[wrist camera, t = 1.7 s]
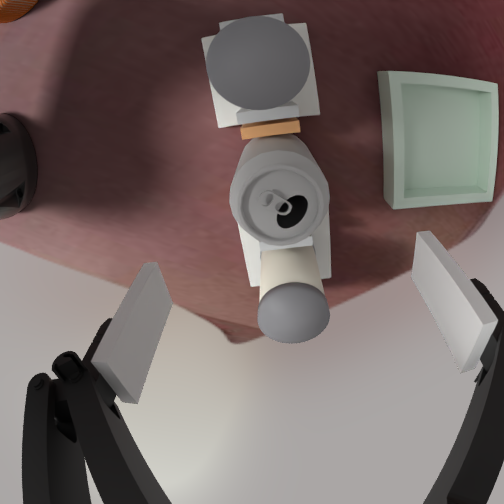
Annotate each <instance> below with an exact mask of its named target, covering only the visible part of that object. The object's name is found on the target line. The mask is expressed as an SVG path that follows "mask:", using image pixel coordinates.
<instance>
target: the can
mask: <svg viewBox="0 0 504 504" xmlns="http://www.w3.org/2000/svg"><path fill="white" fill-rule="evenodd" d="M329 201H330V194H329V187H328V182H327V180H326V179H325V177H324V175H323V173H322V171H321V169H320V168H319V166H318V164H317V163H316V161H315V159H314V158H313V156H312V154H311V153H310V151H309V149H308V148H307V146H306V145H305V144H304V143H303V142H302V141H301V140H300V139H299V138H298V137H297V136H294V135H292V134H290V133H288V134H279V135H271V136H264V137H257V138H253V139H252V140H251V141H250V142H249V143H248V144H247V145H246V146H245V148H244V150H243V153H242V155H241V157H240V160H239V163H238V166H237V169H236V172H235V175H234V178H233V181H232V184H231V187H230V202H229V203H230V206H231V209H232V213H233V216H234V218H235V219H236V221H237V222H238V223H239V225H240V226H241V228H242V229H243V230H245V231H246V232H247V233H248V234H250V235H251V236H252V237H254V238H255V239H256V240H258V241H260V242H263V243H266V244H268V245H276V246H285V245H291V244H296V243H298V242H300V241H302V240H304V239H306V238H307V237H308V236H310V235H311V234H312V233H313V232H314V231H315V230H316V229H317V227H318V226H319V225H320V224H321V222H322V221H323V219H324V217H325V215H326V214H327V211H328V206H329Z"/></svg>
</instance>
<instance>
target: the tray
mask: <svg viewBox="0 0 504 504" xmlns="http://www.w3.org/2000/svg"><path fill="white" fill-rule="evenodd" d="M377 76H378V85H379V95H380V107H381V120H382V137H383V170H384V199H385V201H386V202H387V203H388V204H389V205H390V206H391V207H392V209H393V210H394V209H404V208H415V207H426V206H438V205H450V204H463V203H476V202H490V201H492V199H493V192H494V184H495V175H496V164H497V151H498V125H499V109H498V84H496V83H492V82H487V81H481V80H475V79H469V78H463V77H456V76H448V75H440V74H430V73H419V72H404V71H377Z"/></svg>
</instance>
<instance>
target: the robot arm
mask: <svg viewBox="0 0 504 504" xmlns="http://www.w3.org/2000/svg"><path fill="white" fill-rule="evenodd" d="M36 183H37V160H36V155H35V150H34V147H33V144H32V141H31V139H30V136H29V134H28V133H27V131H26V129H25V128H24V126H23V125H22V124H21V123H20V122H19V121H18V120H17V119H16V118H14V117H13V116H11V115H8V114H0V220H1V219H5V218H9V217H11V216H14V215H15V214H17V213H18V212H19V211H21V210H22V209H23V208H25V207H26V206H27V205H28V204H29V202H30V201H31V199H32V197H33V195H34V192H35V188H36ZM411 278H412V280H413V282H414V283H415V285H416V287H417V289H418V290H419V292H420V294H421V296H422V297H423V299H424V301H425V303H426V304H427V307H428V308H429V310H430V312H431V314H432V316H433V318H434V319H435V321H436V323H437V325H438V327H439V329H440V331H441V333H442V335H443V337H444V339H445V341H446V343H447V346H448V348H449V349H450V352H451V354H452V356H453V358H454V360H455V363H456V365H457V367H458V369H459V371H460V373H463V372H466V371H469V370H472V369H475V367H476V365H477V364H478V361H479V360H481V362H482V364H483V367H482V369H481V371H480V373H479V374H478V376H477V378H476V379H475V381H474V382H477V384H476V387H475V391H474V394H473V397H472V400H471V403H470V405H469V408H468V411H467V414H466V416H465V419H464V422H463V424H462V427H461V429H460V432H459V434H458V436H457V439H456V441H455V443H454V445H453V448H452V450H451V452H450V454H449V456H448V458H447V460H446V463H445V465H444V467H443V469H442V470H441V472H440V474H439V476H438V478H437V480H436V482H435V484H434V485H433V487H432V489H431V491H430V493H429V494H428V496H427V498H426V499H425V501H424V503H423V504H486V503H487V501H488V499H489V496H490V494H491V492H492V490H493V487H494V485H495V482H496V480H497V477H498V475H499V472H500V469H501V467H502V464H503V461H504V311H503V310H502V308H501V307H500V306H499V304H498V303H497V301H496V300H494V297H493V296H492V294H490V292H489V290H488V289H487V288H486V286H485V285H484V284H483V283H481V282H480V281H478V280H477V279H476V278H474V279H469V278H468V277H467V275H466V274H465V273H464V271H463V270H462V269H461V268H460V266H459V265H458V264H457V262H456V261H455V260H454V259H453V258H452V256H451V255H450V254H449V253H448V251H447V250H446V249H445V248H444V247H443V245H442V244H441V243H440V242H439V241H438V240H437V238H436V237H435V236H434V235H433V234H432V233H431V231H421V232H417V236H416V245H415V253H414V260H413V267H412V274H411ZM172 304H173V302H172V300H171V297H170V295H169V292H168V289H167V287H166V284H165V282H164V279H163V276H162V274H161V271H160V268H159V266H158V263H157V262H151V263H144V264H143V266H142V268H141V269H140V271H139V273H138V274H137V276H136V278H135V280H134V281H133V283H132V285H131V287H130V288H129V290H128V292H127V294H126V296H125V297H124V299H123V301H122V303H121V305H120V306H119V308H118V310H117V312H116V314H115V315H114V317H113V318H109V319H107V320H106V321H105V322H104V323H103V324H102V325H101V326H100V328H99V330H98V332H97V334H96V336H95V338H94V340H93V343H91V345H90V347H89V349H88V351H87V353H86V355H85V356H84V358H83V360H82V361H81V359H80V358H79V357H78V355H77V354H76V353H75V352H73V351H67V352H64V353H62V354H61V355H59V356H58V357H57V358H56V359H55V360H54V362H53V365H52V371H53V372H54V373H55V374H56V375H57V377H58V378H59V379H54V380H51V378H50V377H49V376H48V375H47V374H46V373H39V374H37V375H35V376H34V377H33V378H32V379H31V380H30V382H29V384H28V387H27V395H26V404H25V413H24V425H23V441H22V488H23V504H91V499H90V494H89V488H88V481H87V474H86V467H85V460H86V462H87V465H88V468H89V470H90V473H91V475H92V478H93V480H94V483H95V485H96V487H97V490H98V492H99V494H100V496H101V498H102V501H103V503H104V504H172V503H171V502H170V500H169V499H168V497H167V496H166V494H165V493H164V491H163V490H162V488H161V486H160V485H159V483H158V482H157V480H156V479H155V477H154V475H153V473H152V472H151V470H150V468H149V467H148V465H147V463H146V461H145V460H144V458H143V456H142V454H141V452H140V450H139V449H138V447H137V445H136V443H135V441H134V439H133V437H132V436H131V433H130V431H129V429H128V428H127V425H126V423H125V421H124V419H123V417H122V415H121V413H120V410H119V408H118V406H117V405H116V403H115V402H114V399H115V397H116V395H117V396H118V397H119V398H120V400H121V401H122V402H125V403H134V404H138V401H139V398H140V395H141V392H142V389H143V386H144V383H145V380H146V377H147V374H148V371H149V368H150V365H151V362H152V359H153V357H154V354H155V351H156V348H157V345H158V343H159V340H160V337H161V334H162V331H163V328H164V326H165V323H166V320H167V318H168V315H169V312H170V310H171V307H172ZM477 380H478V381H477ZM84 457H85V458H84Z"/></svg>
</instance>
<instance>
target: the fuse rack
mask: <svg viewBox="0 0 504 504" xmlns="http://www.w3.org/2000/svg"><path fill="white" fill-rule="evenodd" d="M219 26H220V31H219V33H218V34H217V35H213V36H208V37H204V38H201V40H202V45H203V50H204V56H205V61H206V68H207V74H208V77H209V81H210V87H211V92H212V97H213V102H214V107H215V112H216V117H217V122H218V127H219V128H222V127H228V126H234V125H240V124H243V125H242V126H241V128H240V130H241V135H242V140H243V139H250V138H257V137H264V136H271V135H279V134H288V133H296V132H300V124H299V120H298V119H297V118H296V117H300V116H311V115H320V109H319V101H318V93H317V86H316V79H315V72H314V66H313V59H312V53H311V47H310V42H309V36H308V31H307V25H306V23H297V24H286V23H284V18H283V13H281V14H271V15H263V16H251V17H245V18H241V19H236V20H230V21H225V22H220V23H219ZM238 227H239V232H240V237H241V241H242V246H243V251H244V256H245V261H246V266H247V271H248V275H249V280H250V285H251V287H254V286H260V302H259V306H258V325H259V327H260V329H261V331H262V332H263V333H264V334H265V335H266V336H268V337H269V338H271V339H273V340H275V341H278V342H282V343H300V342H305V341H308V340H310V339H312V338H314V337H316V336H318V335H319V334H320V333H321V332H322V331H323V330H324V329H325V328H326V326H327V325H328V322H329V318H330V312H329V307H328V303H327V299H326V297H325V294H324V290H323V285H322V281H321V279H325V278H331V249H330V225H329V207H328V211H327V214H326V215H325V217H324V219H323V221H322V222H321V224H320V225H319V226H318V227H317V229H316V230H315V231H314V232H313V233H312V234H311V235H310V236H308V237H307V238H306V239H304V240H302V241H300V242H298V243H296V244H291V245H285V246H276V245H268V244H266V243H263V242H260V241H258V240H256V239H255V238H254V237H252V236H251V235H250V234H248V233H247V232H246V231H245V230H243V229H242V228H241V226H240V225H239V223H238Z"/></svg>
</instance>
